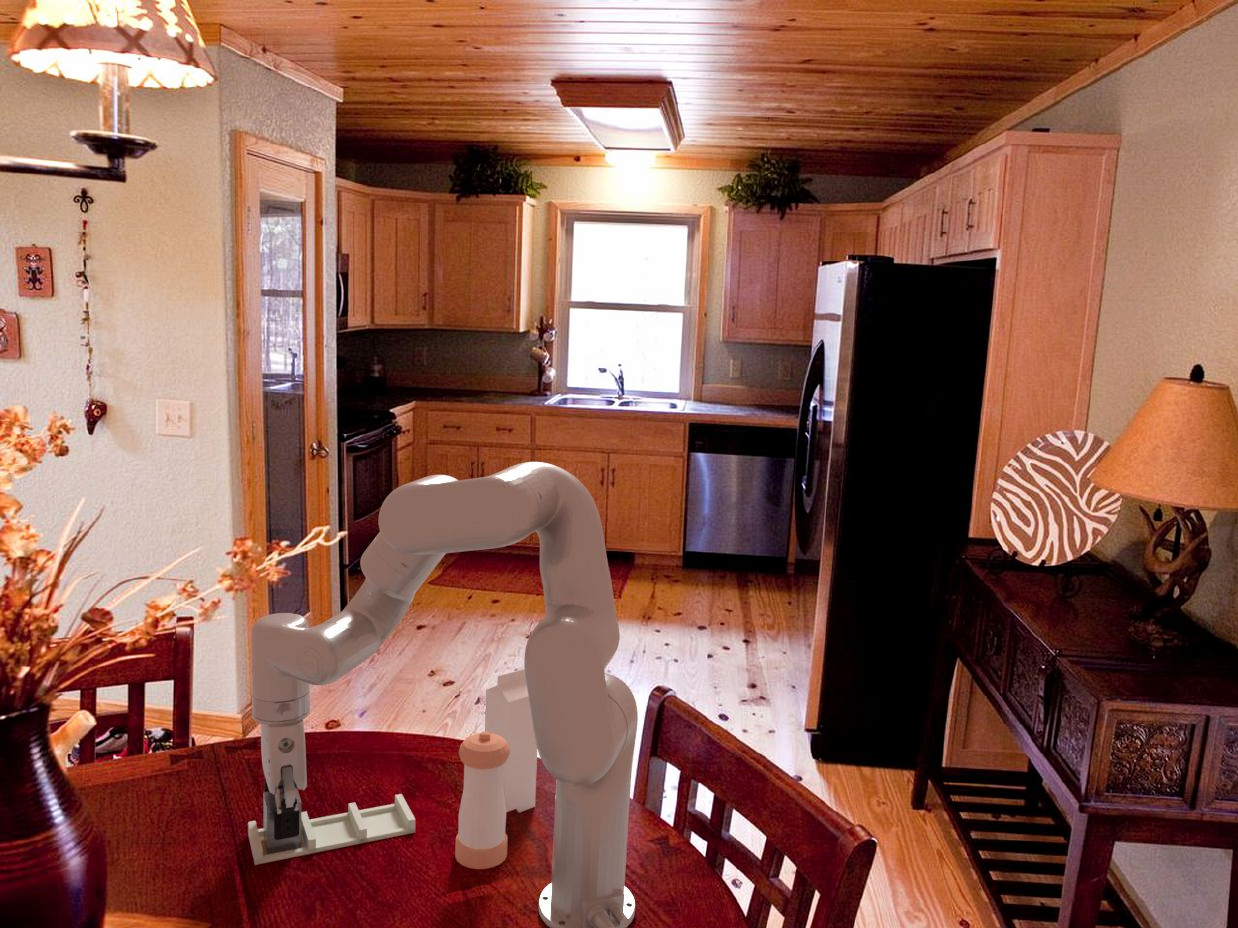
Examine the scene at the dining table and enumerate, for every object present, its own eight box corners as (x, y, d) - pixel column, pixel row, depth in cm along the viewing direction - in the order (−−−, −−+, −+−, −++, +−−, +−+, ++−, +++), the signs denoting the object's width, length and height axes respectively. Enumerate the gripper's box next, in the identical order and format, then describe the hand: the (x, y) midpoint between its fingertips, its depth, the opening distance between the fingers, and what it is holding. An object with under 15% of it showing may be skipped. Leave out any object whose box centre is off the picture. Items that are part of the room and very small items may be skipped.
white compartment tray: (415, 838, 139) (415, 819, 139) (254, 871, 129) (254, 850, 129) (401, 811, 146) (401, 793, 146) (248, 841, 136) (248, 821, 136)
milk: (535, 807, 150) (542, 673, 147) (504, 819, 146) (510, 682, 142) (512, 791, 154) (518, 661, 151) (481, 802, 150) (486, 669, 147)
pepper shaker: (457, 878, 130) (461, 745, 127) (452, 848, 137) (455, 723, 134) (510, 872, 132) (515, 742, 129) (502, 843, 139) (507, 719, 136)
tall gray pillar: (301, 848, 133) (301, 801, 132) (267, 854, 131) (266, 807, 130) (296, 832, 137) (296, 786, 136) (263, 838, 135) (263, 792, 134)
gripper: (320, 725, 125) (320, 845, 128) (299, 678, 141) (299, 786, 143) (259, 733, 122) (260, 857, 125) (245, 684, 137) (246, 795, 140)
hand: (281, 819), depth 134 cm, fingers open, 9 cm apart
